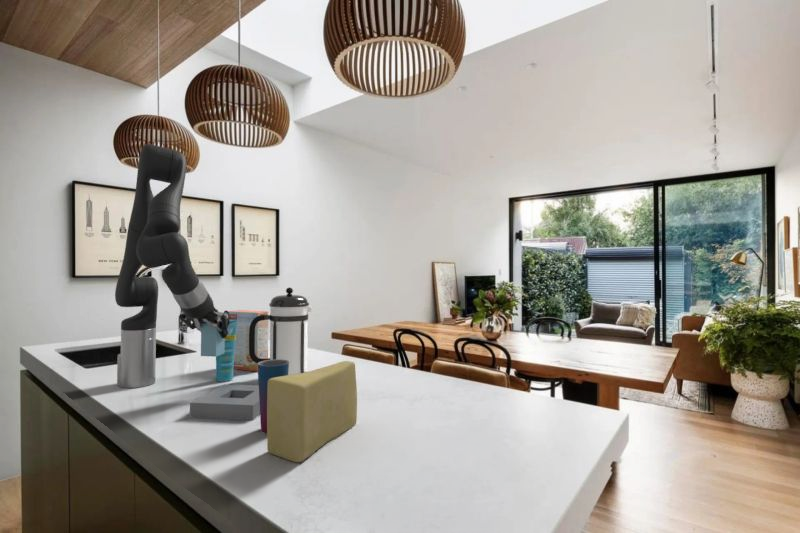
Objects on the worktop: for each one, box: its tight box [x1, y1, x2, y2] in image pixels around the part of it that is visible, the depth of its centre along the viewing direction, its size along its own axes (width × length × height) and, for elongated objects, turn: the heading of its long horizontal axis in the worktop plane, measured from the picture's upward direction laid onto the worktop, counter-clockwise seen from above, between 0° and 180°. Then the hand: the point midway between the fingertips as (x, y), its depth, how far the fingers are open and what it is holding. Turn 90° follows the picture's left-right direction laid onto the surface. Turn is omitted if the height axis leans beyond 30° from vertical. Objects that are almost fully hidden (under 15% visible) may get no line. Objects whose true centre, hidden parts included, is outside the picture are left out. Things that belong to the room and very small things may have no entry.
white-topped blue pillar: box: [200, 311, 225, 358], centre depth 118 cm, size 4×4×12 cm
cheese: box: [266, 360, 358, 464], centre depth 88 cm, size 22×10×15 cm, turn 147°
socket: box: [189, 384, 260, 421], centre depth 108 cm, size 16×16×4 cm
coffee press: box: [249, 287, 314, 375], centre depth 138 cm, size 17×16×30 cm
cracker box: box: [228, 309, 269, 373], centre depth 150 cm, size 14×6×21 cm, turn 65°
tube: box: [215, 320, 238, 382], centre depth 135 cm, size 7×5×19 cm, turn 134°
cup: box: [257, 359, 289, 434], centre depth 93 cm, size 7×7×15 cm
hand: (216, 335), depth 120 cm, fingers closed on white-topped blue pillar, 4 cm apart
